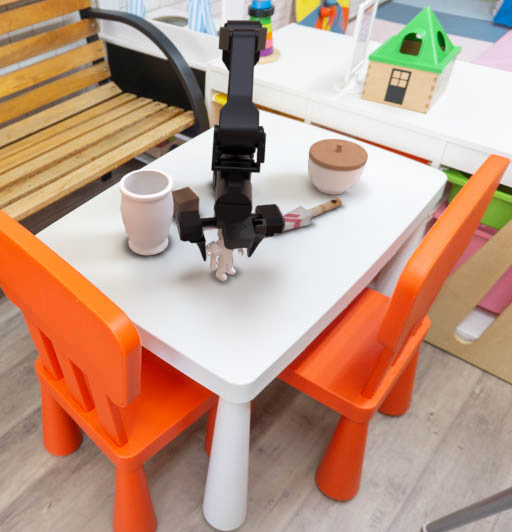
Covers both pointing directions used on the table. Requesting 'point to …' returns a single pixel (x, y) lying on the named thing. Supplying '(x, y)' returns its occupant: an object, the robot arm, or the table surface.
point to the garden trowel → (307, 214)
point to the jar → (147, 209)
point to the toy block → (184, 201)
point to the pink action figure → (221, 257)
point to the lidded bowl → (335, 165)
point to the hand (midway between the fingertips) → (226, 258)
